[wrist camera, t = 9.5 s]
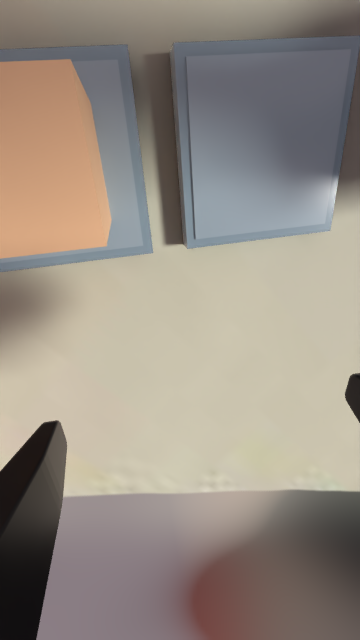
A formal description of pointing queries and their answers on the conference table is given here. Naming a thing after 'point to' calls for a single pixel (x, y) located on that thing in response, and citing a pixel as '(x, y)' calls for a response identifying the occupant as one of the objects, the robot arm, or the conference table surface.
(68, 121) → the block
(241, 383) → the conference table surface
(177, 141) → the dish
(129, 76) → the dish
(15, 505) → the robot arm
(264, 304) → the conference table surface
